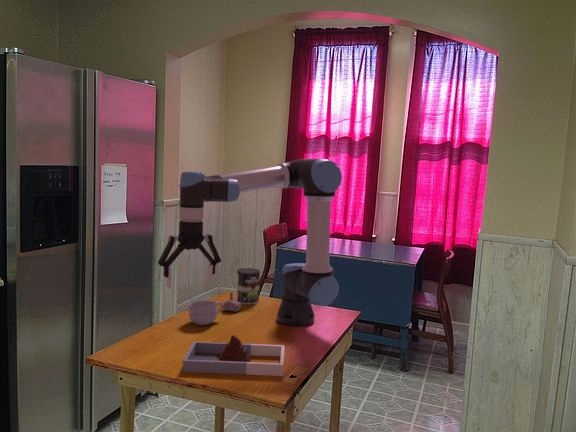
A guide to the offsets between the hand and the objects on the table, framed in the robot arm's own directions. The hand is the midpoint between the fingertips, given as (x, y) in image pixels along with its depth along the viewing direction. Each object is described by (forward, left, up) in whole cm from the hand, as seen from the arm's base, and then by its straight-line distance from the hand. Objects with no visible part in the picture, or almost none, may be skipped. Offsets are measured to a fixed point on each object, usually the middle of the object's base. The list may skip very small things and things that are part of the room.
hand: (189, 285), depth 165 cm
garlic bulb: (-24, -42, -23) cm, 54 cm away
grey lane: (-8, +10, -23) cm, 26 cm away
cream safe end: (-22, +15, -23) cm, 35 cm away
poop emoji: (-13, +12, -23) cm, 29 cm away
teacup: (-11, -29, -23) cm, 39 cm away
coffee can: (-34, -54, -23) cm, 68 cm away
